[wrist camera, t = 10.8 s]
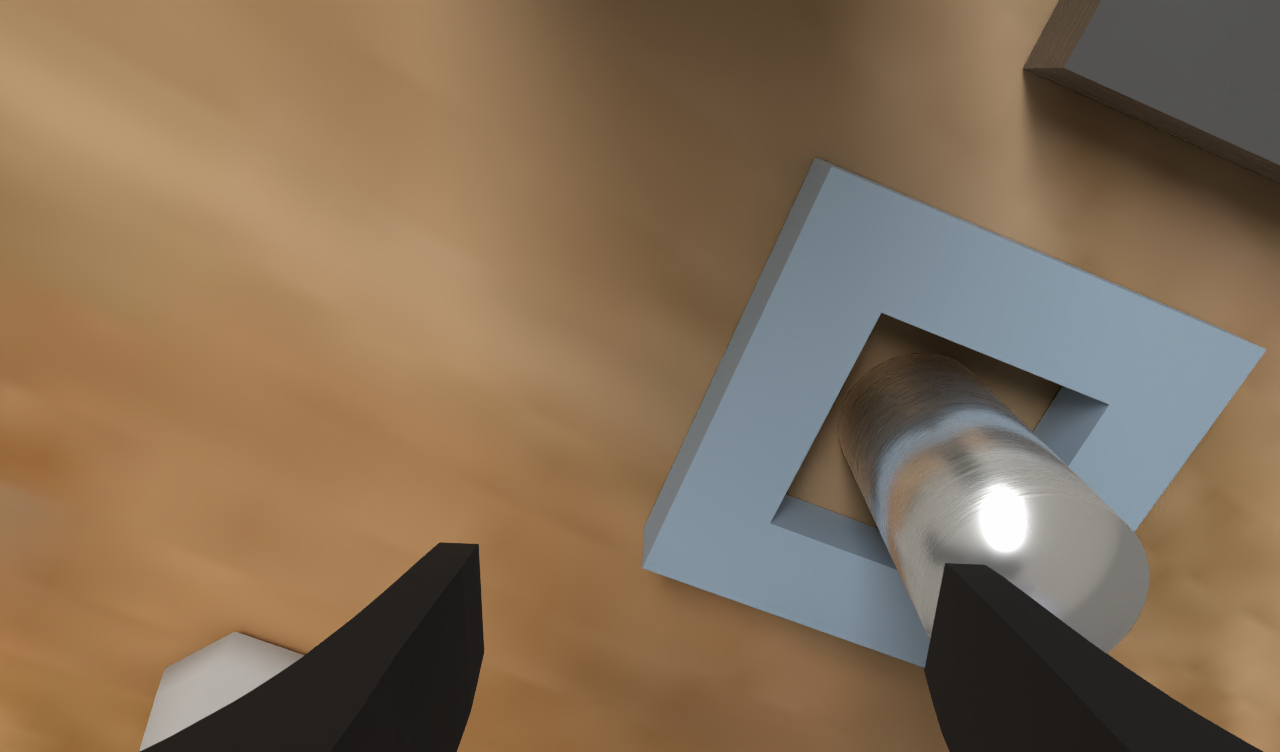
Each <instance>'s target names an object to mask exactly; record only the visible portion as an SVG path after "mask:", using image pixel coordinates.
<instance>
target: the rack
mask: <svg viewBox="0 0 1280 752" xmlns="http://www.w3.org/2000/svg"><path fill="white" fill-rule="evenodd" d="M881 313H884V314H886V315H888V316H891V317H893V318H896V319H898V320H901V321H903V322H906V323H908V324H911V325H913V326H916V327H918V328H921V329H923V330H926V331H928V332H931V333H933V334H936V335H938V336H941V337H943V338H946V339H948V340H950V341H953V342H955V343H958V344H960V345H963V346H965V347H968V348H970V349H973V350H975V351H978V352H980V353H983V354H985V355H988V356H990V357H993V358H995V359H998V360H1000V361H1003V362H1005V363H1008V364H1010V365H1012V366H1015V367H1017V368H1020V369H1022V370H1025V371H1027V372H1030V373H1032V374H1035V375H1037V376H1040V377H1042V378H1045V379H1047V380H1050V381H1052V382H1055V383H1057V384H1060V385H1062V387H1061V389H1060V390H1059V392H1058V393H1057V395H1056V397H1055V398H1054V400H1053V401H1052V403H1051V404H1050V406H1049V408H1048V409H1047V411H1046V412H1045V414H1044V415H1043V417H1042V418H1041V420H1040V422H1039V423H1038V425H1037V426H1036V428H1035V429H1034V431H1033V432H1034V433H1035V434H1036V435H1037V436H1038V437H1039V438H1040V439H1041V440H1042V441H1043V442H1044V443H1045V444H1046V445H1047V446H1048V447H1049V448H1050V449H1051V450H1052V451H1053V452H1054V453H1055V454H1056V455H1057V456H1058V457H1059V458H1060V459H1061V460H1062V461H1063V462H1064V463H1065V464H1066V465H1067V466H1068V467H1069V468H1070V469H1071V470H1072V471H1073V472H1074V473H1075V474H1076V475H1077V476H1078V477H1079V478H1080V479H1081V480H1082V481H1083V482H1084V483H1085V484H1086V485H1087V486H1089V487H1090V488H1091V489H1092V490H1093V491H1094V492H1095V493H1096V494H1097V495H1098V496H1099V497H1100V498H1101V499H1102V500H1103V501H1104V502H1105V503H1106V504H1107V505H1108V506H1109V507H1110V508H1111V509H1112V510H1113V511H1114V512H1115V513H1116V514H1117V515H1118V516H1119V517H1120V518H1121V519H1122V520H1123V521H1124V522H1125V523H1126V524H1127V525H1128V526H1129V527H1130V528H1131V529H1132V531H1133V532H1134V531H1135V530H1136V529H1137V527H1138V526H1139V525H1140V523H1141V522H1142V520H1143V519H1144V518H1145V516H1146V515H1147V514H1148V512H1149V511H1150V509H1151V508H1152V507H1153V505H1154V504H1155V503H1156V501H1157V500H1158V498H1159V497H1160V496H1161V494H1162V493H1163V492H1164V490H1165V489H1166V487H1167V486H1168V485H1169V483H1170V482H1171V481H1172V479H1173V478H1174V476H1175V475H1176V474H1177V472H1178V471H1179V470H1180V468H1181V467H1182V465H1183V464H1184V463H1185V461H1186V460H1187V459H1188V457H1189V456H1190V454H1191V453H1192V452H1193V450H1194V449H1195V448H1196V446H1197V445H1198V443H1199V442H1200V441H1201V439H1202V438H1203V437H1204V435H1205V434H1206V432H1207V431H1208V430H1209V428H1210V427H1211V425H1212V424H1213V423H1214V421H1215V420H1216V419H1217V417H1218V416H1219V414H1220V413H1221V412H1222V410H1223V409H1224V408H1225V406H1226V405H1227V403H1228V402H1229V401H1230V399H1231V398H1232V397H1233V395H1234V394H1235V392H1236V391H1237V390H1238V388H1239V387H1240V386H1241V384H1242V383H1243V381H1244V380H1245V379H1246V377H1247V376H1248V375H1249V373H1250V372H1251V370H1252V369H1253V368H1254V366H1255V365H1256V364H1257V362H1258V361H1259V359H1260V358H1261V357H1262V355H1263V354H1264V353H1265V351H1266V349H1264V348H1262V347H1260V346H1257V345H1255V344H1253V343H1251V342H1249V341H1247V340H1245V339H1242V338H1240V337H1238V336H1236V335H1234V334H1232V333H1229V332H1227V331H1225V330H1223V329H1221V328H1219V327H1217V326H1214V325H1212V324H1210V323H1208V322H1205V321H1203V320H1201V319H1198V318H1196V317H1193V316H1191V315H1189V314H1186V313H1184V312H1182V311H1179V310H1177V309H1175V308H1172V307H1170V306H1167V305H1165V304H1163V303H1160V302H1158V301H1156V300H1153V299H1151V298H1148V297H1146V296H1144V295H1141V294H1139V293H1137V292H1134V291H1132V290H1129V289H1127V288H1125V287H1122V286H1120V285H1118V284H1115V283H1113V282H1111V281H1108V280H1106V279H1103V278H1101V277H1099V276H1096V275H1094V274H1092V273H1089V272H1087V271H1084V270H1082V269H1080V268H1077V267H1075V266H1073V265H1070V264H1068V263H1066V262H1063V261H1061V260H1058V259H1056V258H1054V257H1051V256H1049V255H1047V254H1044V253H1042V252H1039V251H1037V250H1035V249H1032V248H1030V247H1028V246H1025V245H1023V244H1021V243H1018V242H1016V241H1013V240H1011V239H1009V238H1006V237H1004V236H1002V235H999V234H997V233H994V232H992V231H990V230H987V229H985V228H983V227H980V226H978V225H975V224H973V223H971V222H968V221H966V220H964V219H961V218H959V217H957V216H954V215H952V214H949V213H947V212H945V211H942V210H940V209H938V208H935V207H933V206H930V205H928V204H926V203H923V202H921V201H919V200H916V199H914V198H912V197H909V196H907V195H904V194H902V193H900V192H897V191H895V190H893V189H890V188H888V187H885V186H883V185H881V184H878V183H876V182H874V181H871V180H869V179H867V178H864V177H862V176H859V175H857V174H855V173H852V172H850V171H848V170H845V169H843V168H840V167H838V166H836V165H833V164H831V163H829V162H826V161H824V160H821V159H819V158H817V157H815V159H814V161H813V163H812V165H811V167H810V169H809V172H808V174H807V176H806V178H805V180H804V182H803V185H802V187H801V189H800V191H799V193H798V195H797V198H796V200H795V202H794V204H793V206H792V208H791V211H790V213H789V215H788V217H787V219H786V221H785V224H784V226H783V228H782V230H781V232H780V234H779V237H778V239H777V241H776V243H775V245H774V247H773V250H772V252H771V254H770V256H769V258H768V260H767V263H766V265H765V267H764V269H763V271H762V273H761V275H760V278H759V280H758V282H757V284H756V286H755V288H754V291H753V293H752V295H751V297H750V299H749V301H748V304H747V306H746V308H745V310H744V312H743V314H742V317H741V319H740V321H739V323H738V325H737V327H736V330H735V332H734V334H733V336H732V338H731V340H730V343H729V345H728V347H727V349H726V351H725V353H724V356H723V358H722V360H721V362H720V364H719V366H718V369H717V371H716V373H715V375H714V377H713V379H712V382H711V384H710V386H709V388H708V390H707V392H706V395H705V397H704V399H703V401H702V403H701V405H700V408H699V410H698V412H697V414H696V416H695V418H694V420H693V423H692V425H691V427H690V429H689V431H688V433H687V436H686V438H685V440H684V442H683V444H682V446H681V449H680V451H679V453H678V455H677V457H676V459H675V462H674V464H673V466H672V468H671V470H670V472H669V475H668V477H667V479H666V481H665V483H664V485H663V488H662V490H661V492H660V494H659V496H658V498H657V501H656V503H655V505H654V507H653V509H652V511H651V514H650V516H649V518H648V520H647V522H646V524H645V527H644V542H643V563H642V568H643V569H646V570H649V571H652V572H655V573H658V574H660V575H663V576H666V577H669V578H672V579H675V580H677V581H680V582H683V583H686V584H689V585H691V586H694V587H697V588H700V589H703V590H706V591H708V592H711V593H714V594H717V595H720V596H723V597H725V598H728V599H731V600H734V601H737V602H740V603H742V604H745V605H748V606H751V607H754V608H757V609H759V610H762V611H765V612H768V613H771V614H774V615H776V616H779V617H782V618H785V619H788V620H791V621H793V622H796V623H799V624H802V625H805V626H808V627H810V628H813V629H816V630H819V631H822V632H825V633H827V634H830V635H833V636H836V637H839V638H842V639H844V640H847V641H850V642H853V643H856V644H858V645H861V646H864V647H867V648H870V649H873V650H875V651H878V652H881V653H884V654H887V655H890V656H892V657H895V658H898V659H901V660H904V661H907V662H909V663H912V664H915V665H918V666H921V667H924V668H925V664H926V659H927V654H928V649H929V643H930V639H929V637H928V635H927V633H926V631H925V629H924V626H923V624H922V622H921V620H920V618H919V616H918V613H917V611H916V609H915V607H914V605H913V603H912V601H911V598H910V596H909V594H908V592H907V590H906V588H905V585H904V583H903V581H902V579H901V577H900V575H899V572H898V570H897V568H896V566H895V564H894V562H893V559H892V557H891V555H890V553H889V551H888V549H887V546H886V544H885V542H884V540H883V538H882V536H881V534H880V531H879V529H878V528H875V527H872V526H870V525H867V524H864V523H862V522H859V521H856V520H854V519H851V518H848V517H845V516H843V515H840V514H837V513H835V512H832V511H829V510H827V509H824V508H821V507H819V506H816V505H813V504H810V503H808V502H805V501H802V500H800V499H797V498H794V497H792V496H789V495H786V492H787V490H788V488H789V487H790V485H791V483H792V481H793V479H794V477H795V475H796V473H797V471H798V470H799V468H800V466H801V464H802V462H803V460H804V458H805V456H806V454H807V453H808V451H809V449H810V447H811V445H812V443H813V441H814V439H815V437H816V435H817V434H818V432H819V430H820V428H821V426H822V424H823V422H824V420H825V418H826V417H827V415H828V413H829V411H830V409H831V407H832V405H833V403H834V401H835V400H836V398H837V396H838V394H839V392H840V390H841V388H842V386H843V384H844V383H845V381H846V379H847V377H848V375H849V373H850V371H851V369H852V367H853V365H854V364H855V362H856V360H857V358H858V356H859V354H860V352H861V350H862V348H863V347H864V345H865V343H866V341H867V339H868V337H869V335H870V333H871V331H872V330H873V328H874V326H875V324H876V322H877V320H878V318H879V316H880V314H881Z"/></svg>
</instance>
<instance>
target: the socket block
mask: <svg viewBox="0 0 1280 752" xmlns="http://www.w3.org/2000/svg"><path fill="white" fill-rule="evenodd" d="M1024 69H1026V70H1028V71H1031V72H1033V73H1035V74H1037V75H1040V76H1042V77H1044V78H1046V79H1048V80H1051V81H1053V82H1055V83H1057V84H1060V85H1062V86H1064V87H1066V88H1069V89H1071V90H1073V91H1075V92H1077V93H1080V94H1082V95H1084V96H1086V97H1089V98H1091V99H1093V100H1095V101H1098V102H1100V103H1102V104H1104V105H1106V106H1109V107H1111V108H1113V109H1115V110H1118V111H1120V112H1122V113H1124V114H1127V115H1129V116H1131V117H1133V118H1135V119H1138V120H1140V121H1142V122H1144V123H1147V124H1149V125H1151V126H1153V127H1155V128H1158V129H1160V130H1162V131H1164V132H1167V133H1169V134H1171V135H1173V136H1176V137H1178V138H1180V139H1182V140H1184V141H1187V142H1189V143H1191V144H1193V145H1196V146H1198V147H1200V148H1202V149H1205V150H1207V151H1209V152H1211V153H1213V154H1216V155H1218V156H1220V157H1222V158H1225V159H1227V160H1229V161H1231V162H1234V163H1236V164H1238V165H1240V166H1242V167H1245V168H1247V169H1249V170H1251V171H1254V172H1256V173H1258V174H1260V175H1262V176H1265V177H1267V178H1269V179H1271V180H1274V181H1276V182H1278V183H1280V0H1059V2H1058V4H1057V6H1056V8H1055V9H1054V11H1053V13H1052V15H1051V17H1050V19H1049V21H1048V23H1047V24H1046V26H1045V28H1044V30H1043V32H1042V34H1041V36H1040V38H1039V39H1038V41H1037V43H1036V45H1035V47H1034V49H1033V51H1032V53H1031V54H1030V56H1029V58H1028V60H1027V62H1026V64H1025V66H1024Z"/></svg>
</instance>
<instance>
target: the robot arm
mask: <svg viewBox="0 0 1280 752" xmlns="http://www.w3.org/2000/svg"><path fill="white" fill-rule="evenodd" d="M483 654H484V640H483V621H482V602H481V583H480V563H479V544H462V543H439V544H437V545H436V546H435V547H434V548H433V549H432V550H430V551H429V552H428V553H427V554H426V555H425V556H424V557H422V558H421V559H420V560H419V561H418V562H417V563H416V564H415V565H413V566H412V567H411V568H410V569H409V570H408V571H407V572H406V573H405V574H403V575H402V576H401V577H400V578H399V579H398V580H397V581H396V582H394V583H393V584H392V585H391V586H390V587H389V588H388V589H387V590H385V591H384V592H383V593H382V594H381V595H380V596H378V597H377V598H376V599H375V600H374V601H373V602H371V603H370V604H369V605H368V606H367V607H366V608H364V609H363V610H362V611H361V612H360V613H358V614H357V615H356V616H355V617H354V618H353V619H351V620H350V621H349V622H347V623H346V624H345V625H343V626H342V627H341V628H340V629H338V630H337V631H336V632H334V633H333V634H332V635H331V636H329V637H328V638H327V639H325V640H324V641H323V642H321V643H320V644H319V645H318V646H316V647H315V648H314V649H312V650H311V651H310V652H309V653H307V654H306V655H304V656H303V657H302V658H300V659H299V660H297V661H296V662H294V663H293V664H292V665H290V666H289V667H287V668H286V669H284V670H283V671H281V672H280V673H278V674H277V675H275V676H274V677H272V678H270V679H269V680H267V681H266V682H264V683H263V684H261V685H260V686H258V687H256V688H255V689H253V690H252V691H250V692H249V693H247V694H245V695H244V696H242V697H240V698H239V699H237V700H235V701H234V702H232V703H230V704H228V705H226V706H225V707H223V708H221V709H219V710H217V711H216V712H214V713H212V714H210V715H208V716H207V717H205V718H203V719H201V720H199V721H197V722H196V723H194V724H192V725H190V726H188V727H187V728H185V729H183V730H181V731H179V732H178V733H176V734H174V735H172V736H170V737H168V738H166V739H164V740H162V741H160V742H158V743H156V744H154V745H152V746H150V747H148V748H146V749H144V750H142V751H140V752H457V749H458V746H459V744H460V741H461V738H462V735H463V732H464V729H465V727H466V724H467V721H468V718H469V715H470V712H471V708H472V704H473V699H474V695H475V691H476V687H477V682H478V677H479V673H480V668H481V664H482V659H483ZM924 671H925V675H926V679H927V682H928V686H929V690H930V693H931V697H932V701H933V705H934V708H935V711H936V715H937V718H938V721H939V725H940V728H941V731H942V734H943V736H944V739H945V741H946V744H947V746H948V749H949V751H950V752H1263V751H1261V750H1259V749H1257V748H1256V747H1254V746H1252V745H1250V744H1248V743H1247V742H1245V741H1243V740H1241V739H1240V738H1238V737H1236V736H1235V735H1233V734H1231V733H1230V732H1228V731H1226V730H1224V729H1223V728H1221V727H1219V726H1218V725H1216V724H1214V723H1212V722H1211V721H1209V720H1207V719H1206V718H1204V717H1202V716H1200V715H1199V714H1197V713H1195V712H1194V711H1192V710H1190V709H1189V708H1187V707H1186V706H1184V705H1182V704H1181V703H1179V702H1178V701H1176V700H1174V699H1173V698H1171V697H1170V696H1168V695H1167V694H1165V693H1164V692H1162V691H1161V690H1159V689H1158V688H1156V687H1155V686H1153V685H1152V684H1150V683H1149V682H1147V681H1146V680H1144V679H1143V678H1141V677H1140V676H1138V675H1137V674H1135V673H1134V672H1132V671H1131V670H1129V669H1128V668H1126V667H1125V666H1124V665H1122V664H1121V663H1119V662H1118V661H1116V660H1115V659H1114V658H1112V657H1111V656H1109V655H1108V654H1106V653H1105V652H1104V651H1102V650H1101V649H1099V648H1098V647H1097V646H1095V645H1094V644H1093V643H1091V642H1090V641H1088V640H1087V639H1086V638H1084V637H1083V636H1082V635H1080V634H1079V633H1078V632H1076V631H1075V630H1074V629H1072V628H1071V627H1070V626H1068V625H1067V624H1066V623H1064V622H1063V621H1062V620H1060V619H1059V618H1058V617H1056V616H1055V615H1054V614H1052V613H1051V612H1050V611H1048V610H1047V609H1046V608H1044V607H1043V606H1042V605H1040V604H1039V603H1038V602H1036V601H1035V600H1034V599H1032V598H1031V597H1030V596H1028V595H1027V594H1026V593H1024V592H1023V591H1022V590H1020V589H1019V588H1018V587H1016V586H1015V585H1014V584H1012V583H1011V582H1010V581H1008V580H1007V579H1006V578H1004V577H1003V576H1001V575H1000V574H998V573H997V572H996V571H994V570H993V569H991V568H990V567H988V566H986V565H981V564H956V563H945V566H944V571H943V576H942V581H941V587H940V592H939V597H938V602H937V607H936V612H935V618H934V623H933V628H932V633H931V638H930V643H929V649H928V654H927V659H926V664H925V669H924Z"/></svg>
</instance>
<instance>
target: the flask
mask: <svg viewBox="0 0 1280 752" xmlns="http://www.w3.org/2000/svg"><path fill="white" fill-rule="evenodd" d="M303 656H304V655H302V654H299V653H296V652H293V651H290V650H288V649H285V648H282V647H279V646H276V645H273V644H270V643H267V642H264V641H261V640H258V639H256V638H253V637H250V636H247V635H244V634H241V633H238V632H233V633H231V634H229V635H227V636H225V637H223V638H222V639H220V640H218V641H216V642H214V643H212V644H210V645H208V646H206V647H204V648H202V649H201V650H199V651H197V652H195V653H193V654H191V655H189V656H187V657H185V658H183V659H181V660H179V661H178V662H176V663H174V664H172V665H170V666H168V667H166V668H165V670H164V673H163V676H162V679H161V682H160V685H159V688H158V691H157V694H156V697H155V701H154V704H153V707H152V711H151V714H150V717H149V721H148V724H147V727H146V731H145V734H144V737H143V741H142V744H141V747H140V751H142V750H144V749H146V748H148V747H150V746H152V745H154V744H156V743H158V742H160V741H162V740H164V739H166V738H168V737H170V736H172V735H174V734H176V733H178V732H179V731H181V730H183V729H185V728H187V727H188V726H190V725H192V724H194V723H196V722H197V721H199V720H201V719H203V718H205V717H207V716H208V715H210V714H212V713H214V712H216V711H217V710H219V709H221V708H223V707H225V706H226V705H228V704H230V703H232V702H234V701H235V700H237V699H239V698H240V697H242V696H244V695H245V694H247V693H249V692H250V691H252V690H253V689H255V688H256V687H258V686H260V685H261V684H263V683H264V682H266V681H267V680H269V679H270V678H272V677H274V676H275V675H277V674H278V673H280V672H281V671H283V670H284V669H286V668H287V667H289V666H290V665H292V664H293V663H294V662H296V661H297V660H299V659H300V658H302V657H303ZM140 751H139V752H140Z"/></svg>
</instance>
